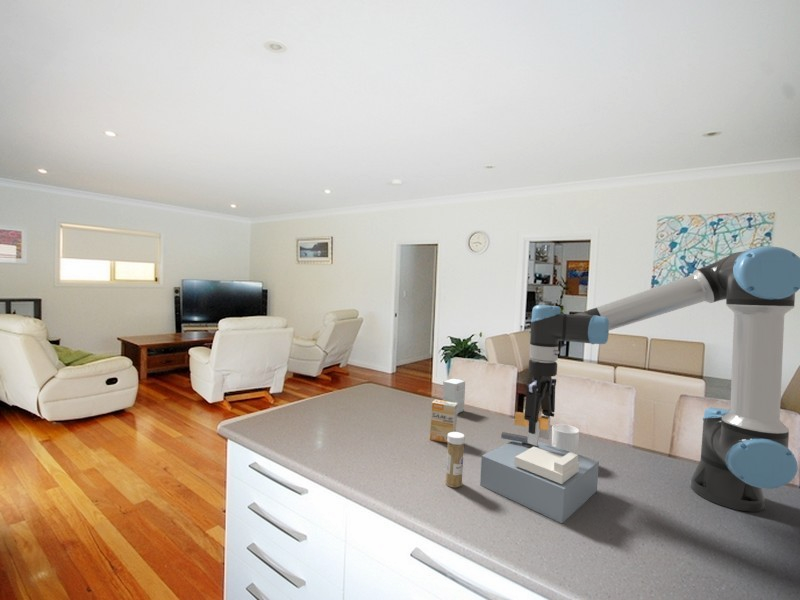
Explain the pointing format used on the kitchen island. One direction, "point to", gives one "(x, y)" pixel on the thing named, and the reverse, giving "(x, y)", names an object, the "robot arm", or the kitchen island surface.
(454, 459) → the sprinkles bottle
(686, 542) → the kitchen island surface
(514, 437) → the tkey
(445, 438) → the supplement box
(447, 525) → the kitchen island surface
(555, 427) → the white cup
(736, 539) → the kitchen island surface
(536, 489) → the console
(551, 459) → the cover
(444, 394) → the small box
